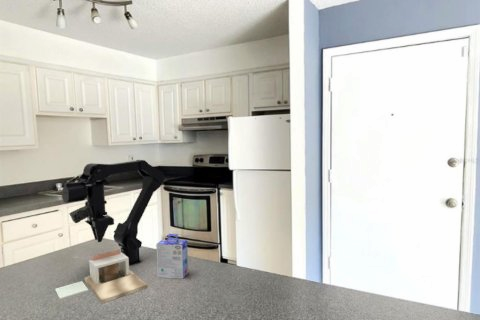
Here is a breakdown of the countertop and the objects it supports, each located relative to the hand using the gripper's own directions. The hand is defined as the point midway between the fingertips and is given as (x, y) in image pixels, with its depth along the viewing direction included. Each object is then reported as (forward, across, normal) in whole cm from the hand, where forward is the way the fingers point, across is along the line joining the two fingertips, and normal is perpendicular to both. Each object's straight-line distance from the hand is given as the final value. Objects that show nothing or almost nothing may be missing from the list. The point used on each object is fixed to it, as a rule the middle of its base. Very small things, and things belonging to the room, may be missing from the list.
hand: (98, 240), depth 112 cm
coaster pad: (+12, +8, -11) cm, 18 cm away
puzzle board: (+12, +13, +1) cm, 18 cm away
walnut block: (+12, +8, +1) cm, 14 cm away
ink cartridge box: (+12, +20, +19) cm, 30 cm away
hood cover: (+11, +8, +1) cm, 13 cm away
